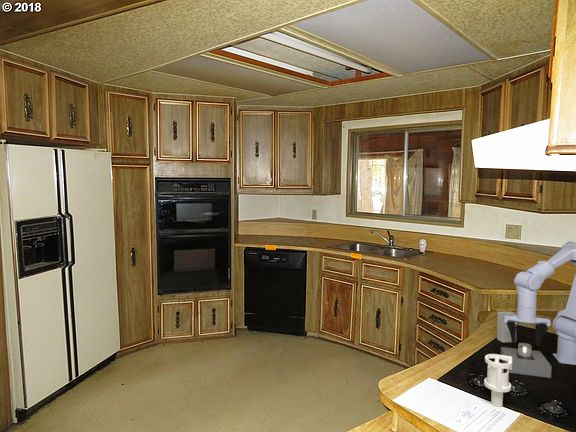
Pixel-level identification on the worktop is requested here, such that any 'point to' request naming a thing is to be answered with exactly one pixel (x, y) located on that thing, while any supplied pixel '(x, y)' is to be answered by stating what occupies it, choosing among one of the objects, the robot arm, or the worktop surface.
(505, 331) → the skincare box
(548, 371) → the socket block
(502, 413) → the worktop surface
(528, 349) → the peg
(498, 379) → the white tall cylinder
